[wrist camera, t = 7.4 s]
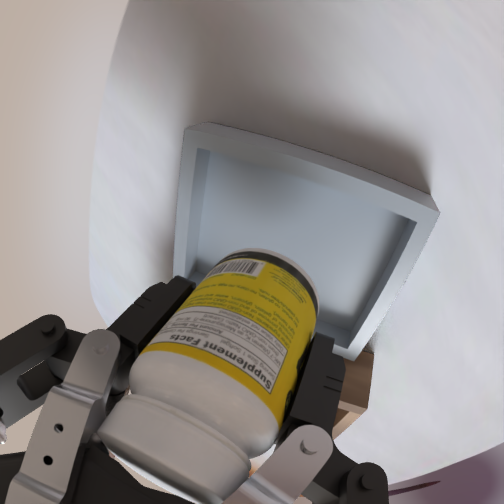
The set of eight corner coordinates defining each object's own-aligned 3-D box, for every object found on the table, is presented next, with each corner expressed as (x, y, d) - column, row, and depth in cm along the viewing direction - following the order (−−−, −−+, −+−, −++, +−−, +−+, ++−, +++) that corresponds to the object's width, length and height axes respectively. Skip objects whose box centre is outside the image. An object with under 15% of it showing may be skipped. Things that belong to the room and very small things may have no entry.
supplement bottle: (282, 351, 14) (207, 513, 7) (199, 296, 14) (86, 439, 7) (346, 290, 11) (282, 516, 4) (242, 220, 11) (77, 400, 5)
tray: (207, 121, 15) (184, 128, 13) (431, 195, 13) (440, 213, 11) (190, 269, 21) (172, 288, 19) (358, 335, 18) (354, 361, 17)
